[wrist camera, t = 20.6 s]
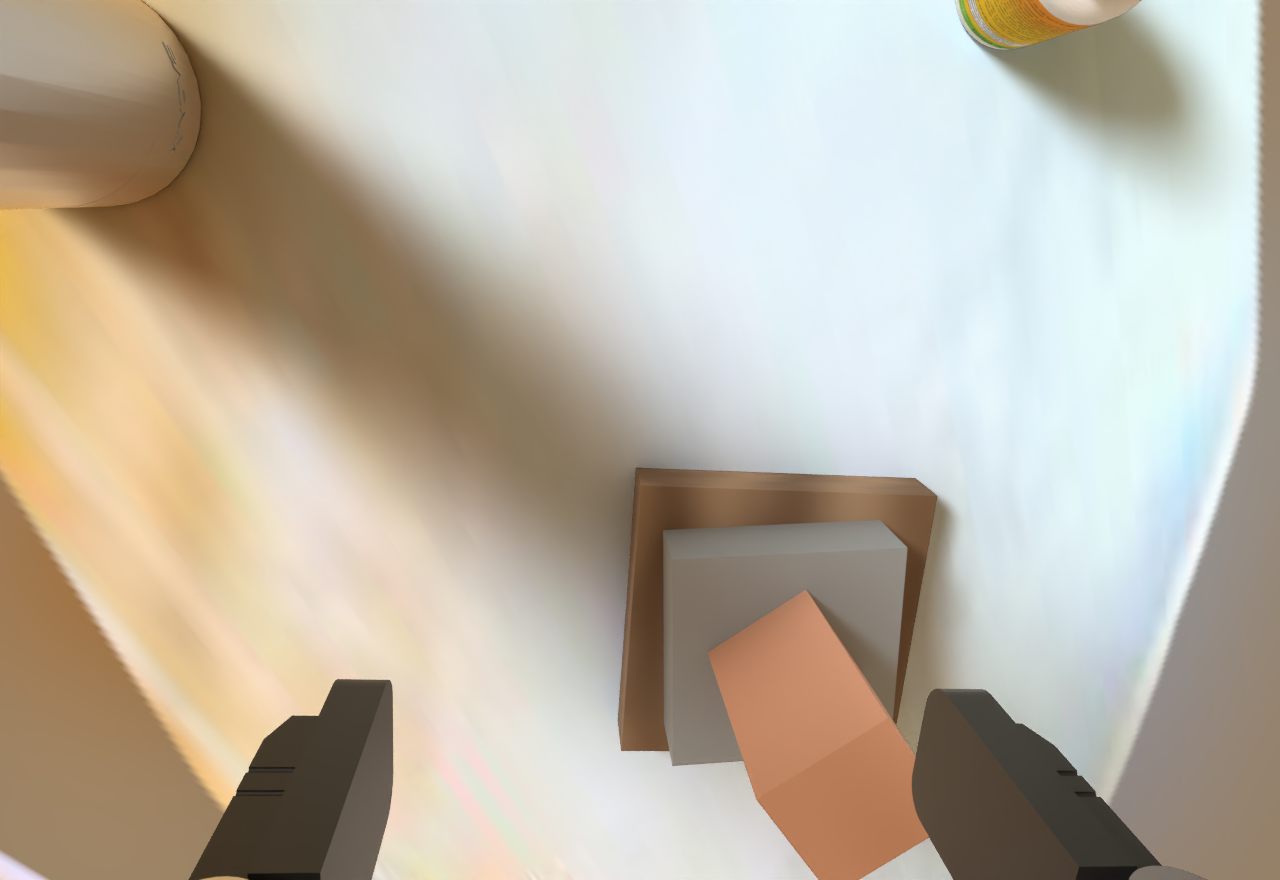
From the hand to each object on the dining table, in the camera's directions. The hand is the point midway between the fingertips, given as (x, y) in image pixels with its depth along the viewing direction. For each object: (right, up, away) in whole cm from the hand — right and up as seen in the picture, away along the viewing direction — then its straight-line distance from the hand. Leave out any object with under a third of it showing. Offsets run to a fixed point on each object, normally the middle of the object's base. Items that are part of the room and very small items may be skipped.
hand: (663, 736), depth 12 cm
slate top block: (+6, -5, +31) cm, 32 cm away
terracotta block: (+7, -6, +28) cm, 29 cm away
